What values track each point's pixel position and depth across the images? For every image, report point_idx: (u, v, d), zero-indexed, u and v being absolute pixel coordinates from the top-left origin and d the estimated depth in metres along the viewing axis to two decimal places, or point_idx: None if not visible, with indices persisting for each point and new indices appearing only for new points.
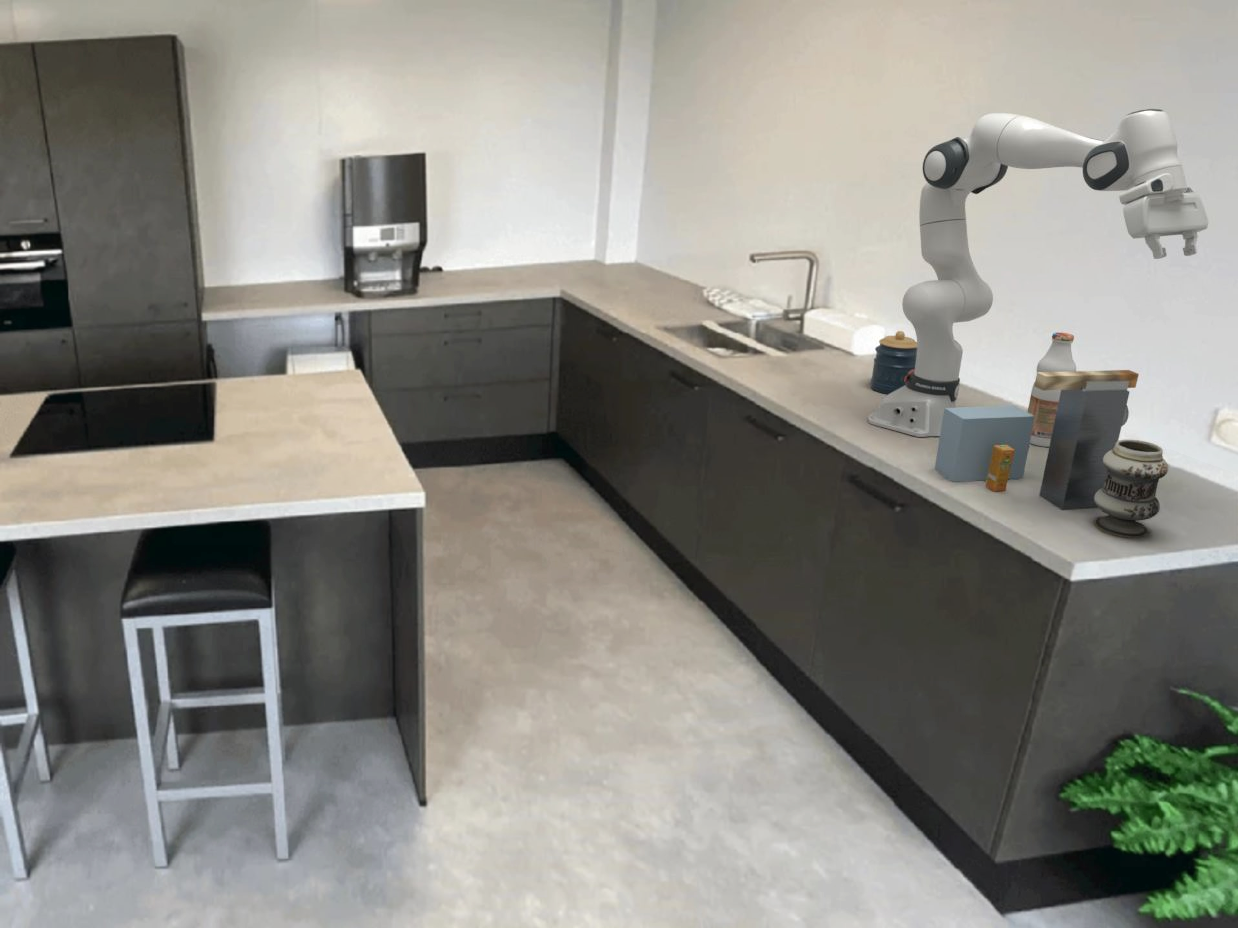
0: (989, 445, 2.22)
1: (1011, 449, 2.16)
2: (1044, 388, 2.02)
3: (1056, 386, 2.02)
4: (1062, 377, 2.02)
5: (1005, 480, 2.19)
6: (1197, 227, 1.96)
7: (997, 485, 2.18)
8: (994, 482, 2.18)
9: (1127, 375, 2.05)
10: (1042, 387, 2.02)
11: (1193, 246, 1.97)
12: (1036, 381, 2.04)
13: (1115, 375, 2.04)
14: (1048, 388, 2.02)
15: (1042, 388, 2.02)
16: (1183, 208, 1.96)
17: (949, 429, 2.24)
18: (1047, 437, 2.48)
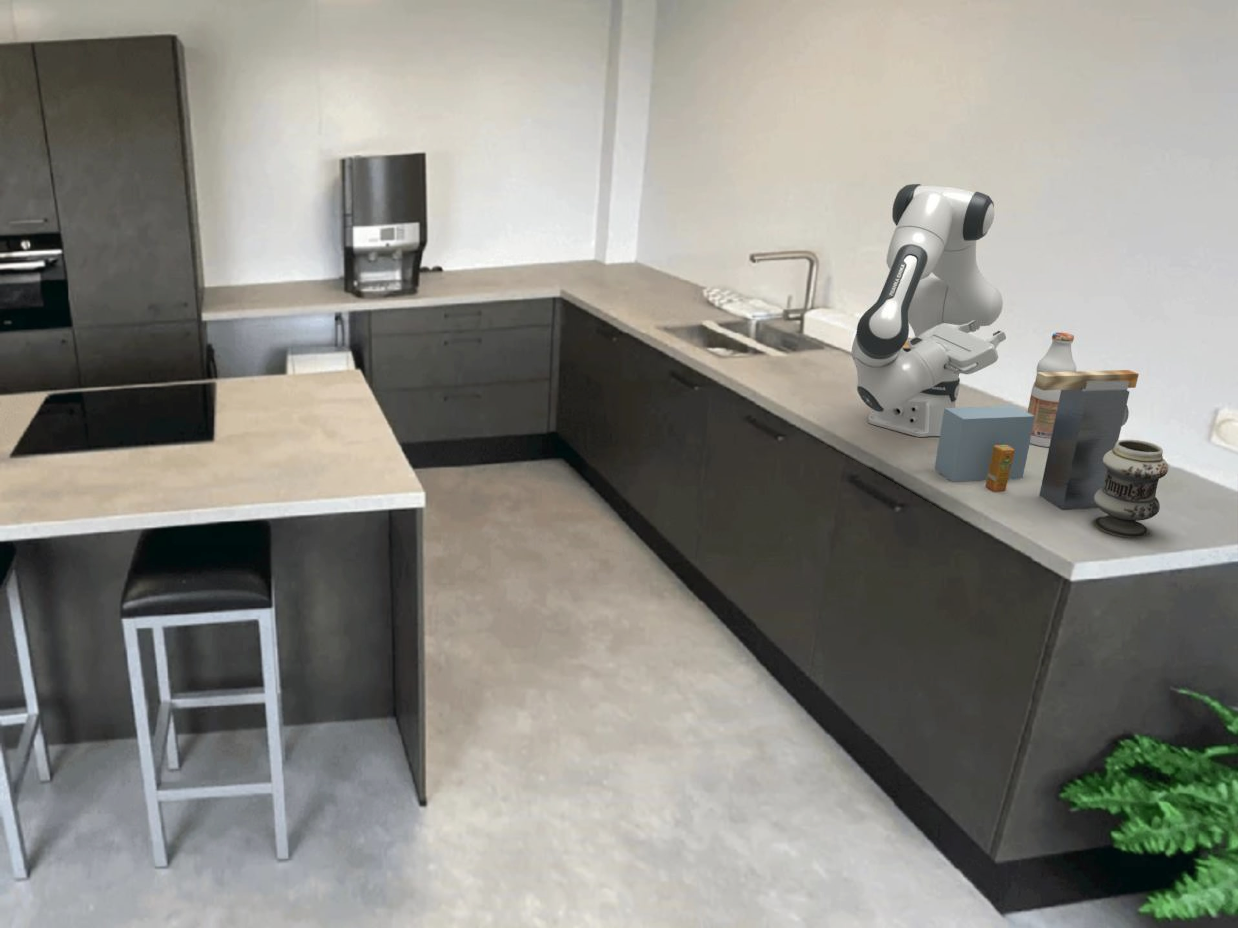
0: (989, 445, 2.22)
1: (1011, 449, 2.16)
2: (1044, 388, 2.02)
3: (1056, 386, 2.02)
4: (1062, 377, 2.02)
5: (1005, 480, 2.19)
6: None
7: (997, 485, 2.18)
8: (994, 482, 2.18)
9: (1127, 375, 2.05)
10: (1042, 387, 2.02)
11: None
12: (1036, 381, 2.04)
13: (1115, 375, 2.04)
14: (1048, 388, 2.02)
15: (1042, 388, 2.02)
16: None
17: (949, 429, 2.24)
18: (1047, 437, 2.48)
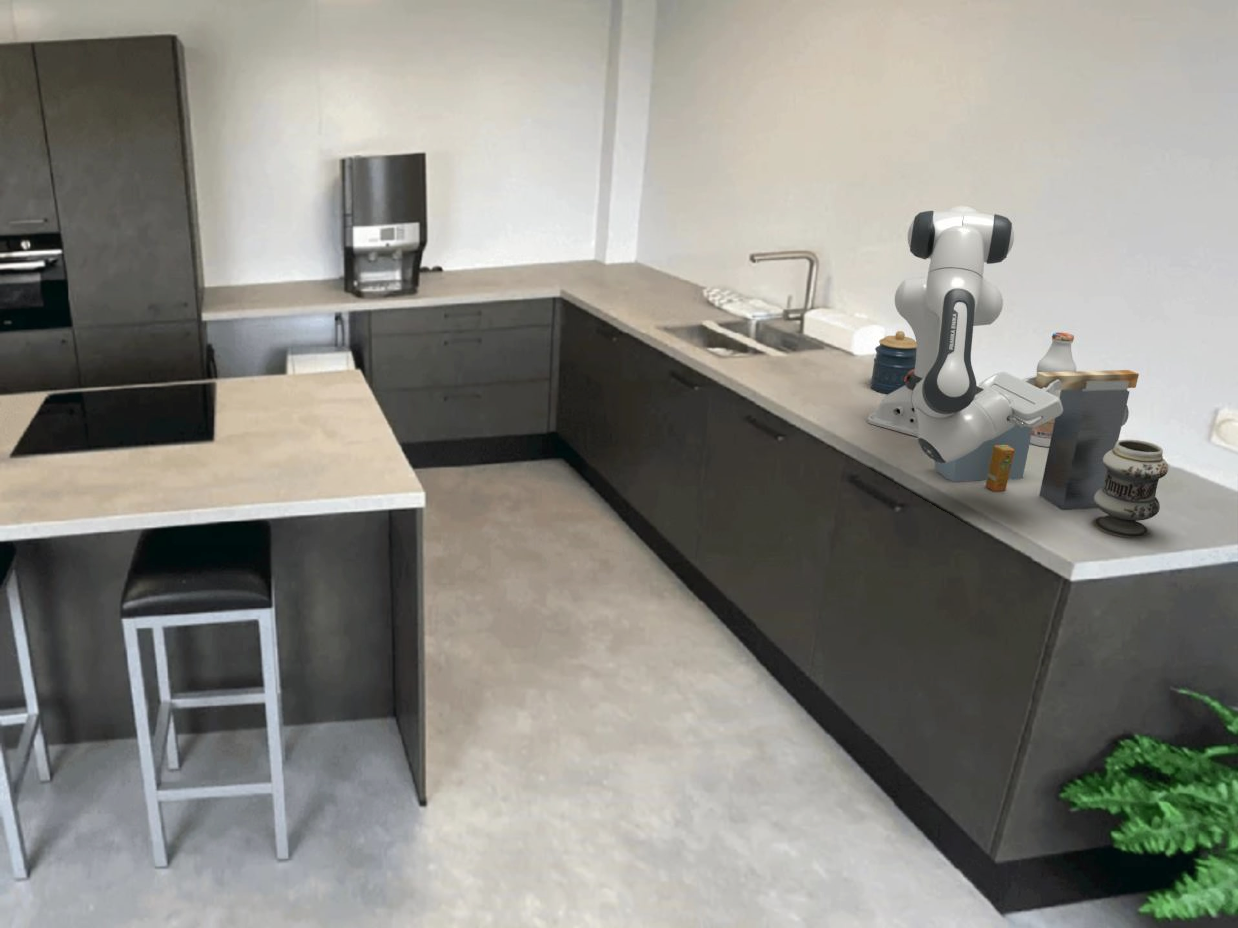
0: (989, 445, 2.22)
1: (1011, 449, 2.16)
2: None
3: None
4: (1062, 377, 2.02)
5: (1005, 480, 2.19)
6: None
7: (997, 485, 2.18)
8: (994, 482, 2.18)
9: (1127, 375, 2.05)
10: (1042, 387, 2.02)
11: None
12: (1036, 381, 2.04)
13: (1115, 375, 2.04)
14: None
15: None
16: None
17: None
18: (1047, 437, 2.48)
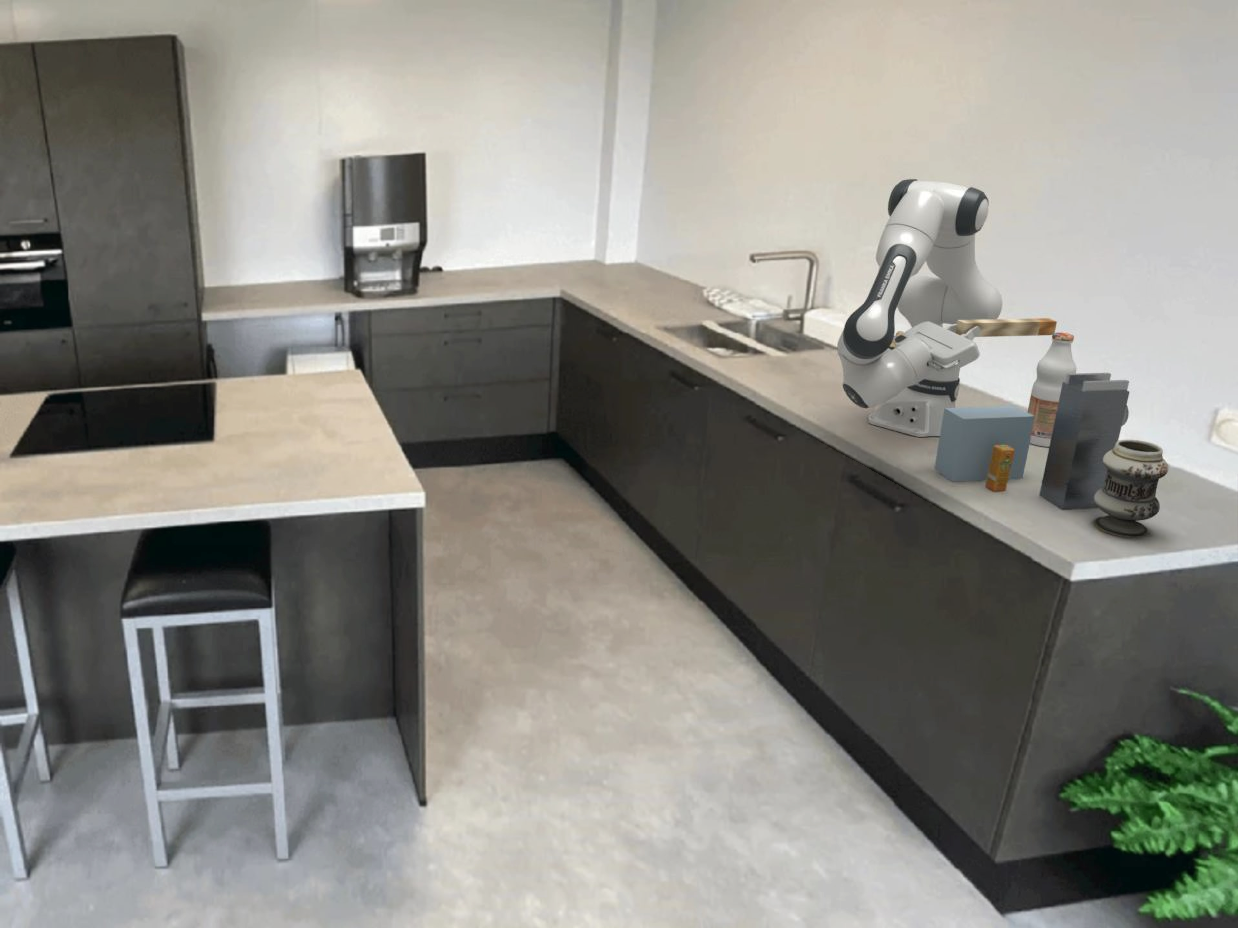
0: (989, 445, 2.22)
1: (1011, 449, 2.16)
2: None
3: None
4: (981, 324, 2.08)
5: (1005, 480, 2.19)
6: None
7: (997, 485, 2.18)
8: (994, 482, 2.18)
9: (1045, 323, 2.12)
10: None
11: None
12: (957, 328, 2.10)
13: (1033, 322, 2.11)
14: None
15: None
16: None
17: (949, 429, 2.24)
18: (1047, 437, 2.48)
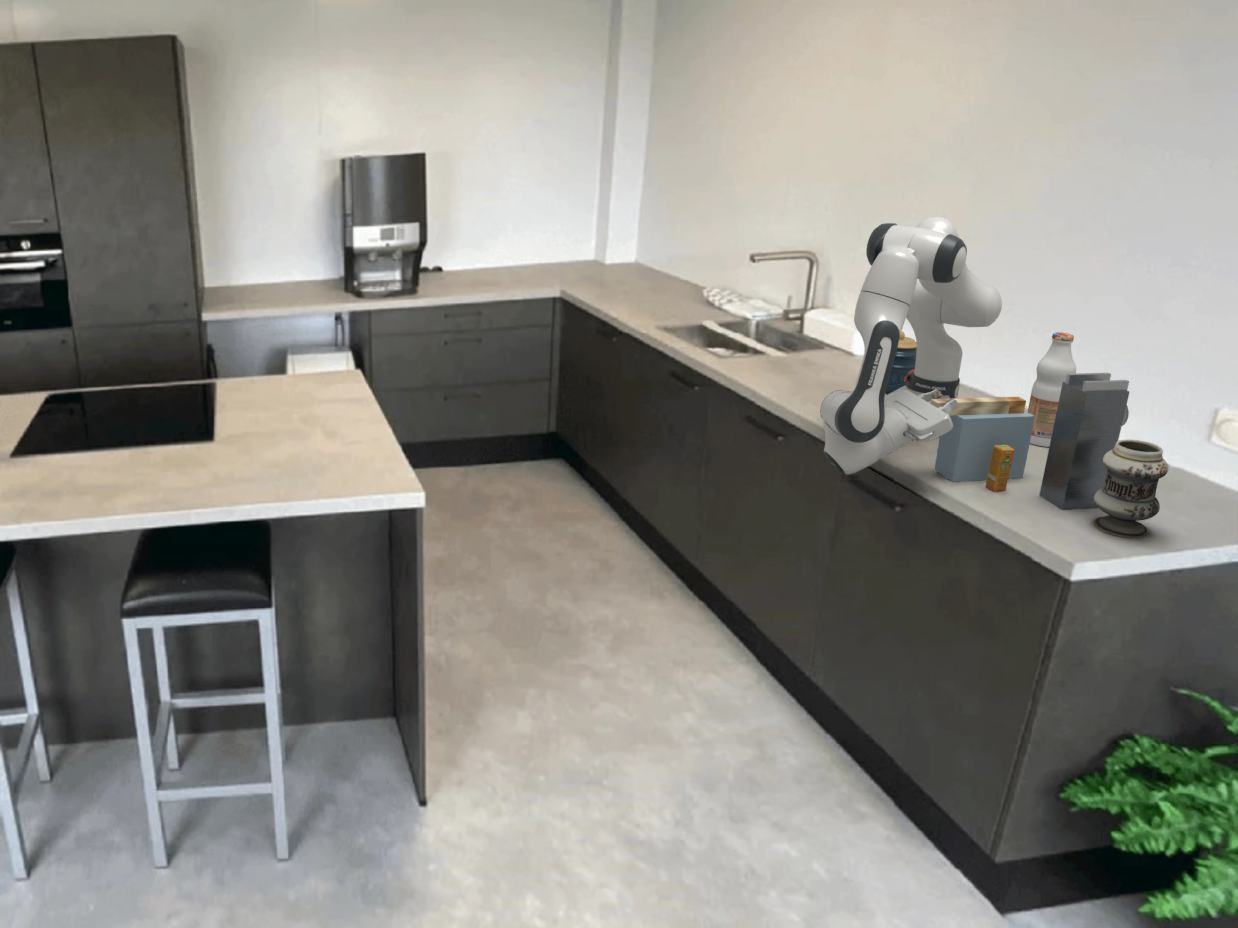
0: (989, 445, 2.22)
1: (1011, 449, 2.16)
2: None
3: None
4: None
5: (1005, 480, 2.19)
6: None
7: (997, 485, 2.18)
8: (994, 482, 2.18)
9: (1015, 402, 2.23)
10: None
11: None
12: None
13: (1004, 402, 2.22)
14: None
15: None
16: None
17: None
18: (1047, 437, 2.48)
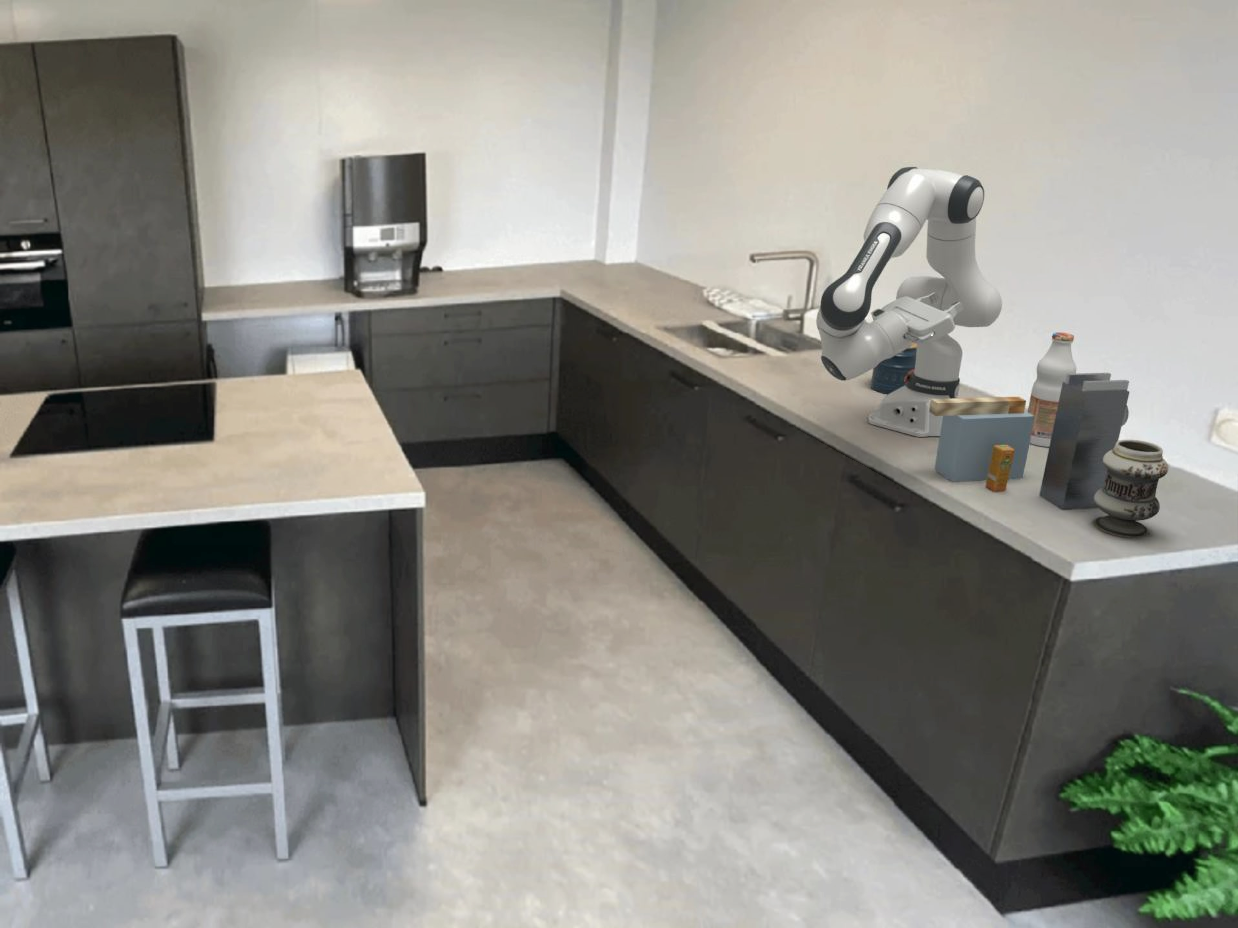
0: (989, 445, 2.22)
1: (1011, 449, 2.16)
2: (936, 414, 2.19)
3: (947, 412, 2.20)
4: (953, 404, 2.19)
5: (1005, 480, 2.19)
6: None
7: (997, 485, 2.18)
8: (994, 482, 2.18)
9: (1015, 402, 2.23)
10: (935, 413, 2.20)
11: None
12: (930, 407, 2.21)
13: (1004, 402, 2.22)
14: (940, 414, 2.20)
15: (935, 414, 2.20)
16: None
17: (949, 429, 2.24)
18: (1047, 437, 2.48)
